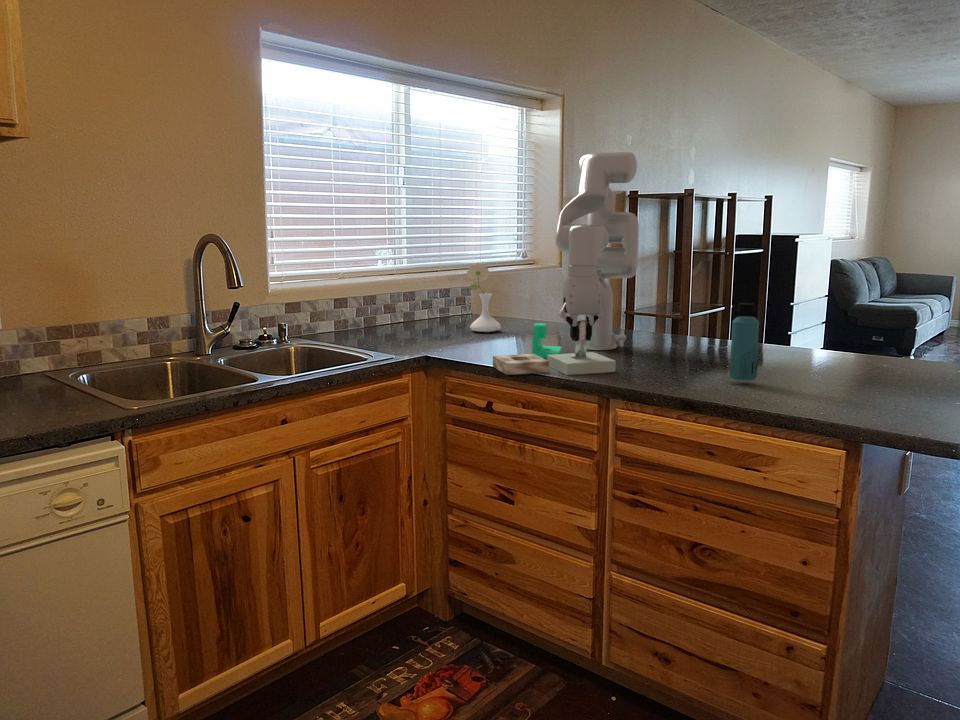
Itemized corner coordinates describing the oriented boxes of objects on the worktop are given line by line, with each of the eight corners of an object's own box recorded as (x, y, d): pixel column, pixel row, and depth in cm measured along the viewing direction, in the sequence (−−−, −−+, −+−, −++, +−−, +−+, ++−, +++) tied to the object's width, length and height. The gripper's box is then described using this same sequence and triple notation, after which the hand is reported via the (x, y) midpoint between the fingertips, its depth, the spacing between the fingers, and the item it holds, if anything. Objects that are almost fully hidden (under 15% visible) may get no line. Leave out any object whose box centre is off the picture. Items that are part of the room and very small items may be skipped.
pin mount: (533, 364, 211) (533, 353, 211) (549, 372, 200) (549, 361, 199) (492, 366, 208) (492, 355, 207) (506, 374, 196) (506, 363, 196)
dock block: (592, 362, 213) (593, 352, 212) (615, 371, 200) (615, 360, 199) (547, 365, 209) (547, 354, 209) (566, 375, 196) (567, 363, 195)
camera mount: (558, 362, 215) (558, 326, 213) (531, 361, 216) (532, 326, 215) (561, 354, 227) (562, 321, 225) (536, 354, 228) (536, 320, 226)
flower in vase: (505, 330, 276) (505, 262, 272) (493, 334, 266) (493, 264, 261) (473, 328, 282) (473, 261, 277) (460, 332, 271) (460, 263, 267)
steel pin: (583, 355, 205) (584, 319, 204) (588, 357, 203) (588, 320, 201) (573, 356, 205) (574, 319, 203) (577, 357, 202) (578, 321, 200)
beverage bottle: (753, 387, 180) (758, 305, 176) (725, 384, 184) (729, 303, 180) (759, 382, 186) (764, 302, 182) (731, 379, 189) (736, 301, 185)
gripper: (604, 270, 205) (602, 337, 209) (548, 272, 201) (547, 339, 204) (616, 272, 198) (614, 340, 202) (559, 273, 194) (558, 343, 197)
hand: (580, 339), depth 203 cm, fingers closed on steel pin, 3 cm apart
